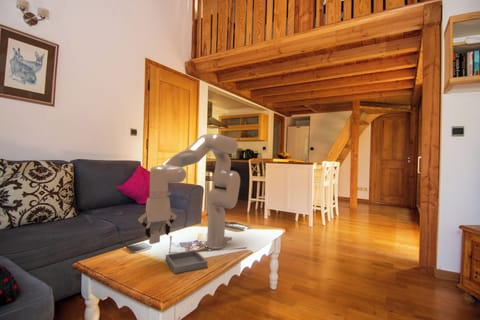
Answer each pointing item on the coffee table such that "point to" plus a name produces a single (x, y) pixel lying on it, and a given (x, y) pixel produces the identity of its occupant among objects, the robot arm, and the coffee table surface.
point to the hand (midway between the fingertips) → (157, 235)
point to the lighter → (156, 234)
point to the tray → (185, 261)
